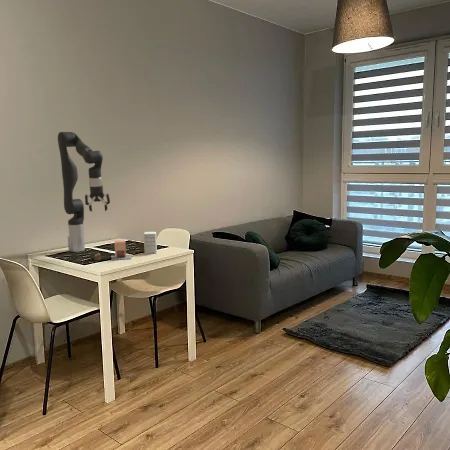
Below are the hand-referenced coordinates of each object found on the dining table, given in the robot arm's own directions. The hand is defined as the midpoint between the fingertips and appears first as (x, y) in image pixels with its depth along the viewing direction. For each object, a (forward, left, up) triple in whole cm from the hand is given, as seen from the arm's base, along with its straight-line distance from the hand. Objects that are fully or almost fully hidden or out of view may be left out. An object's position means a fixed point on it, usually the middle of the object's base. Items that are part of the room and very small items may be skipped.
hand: (98, 211), depth 276 cm
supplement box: (+28, +11, -27) cm, 41 cm away
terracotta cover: (+16, -6, -27) cm, 32 cm away
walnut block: (+5, -13, -27) cm, 30 cm away
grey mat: (+16, -6, -27) cm, 32 cm away
